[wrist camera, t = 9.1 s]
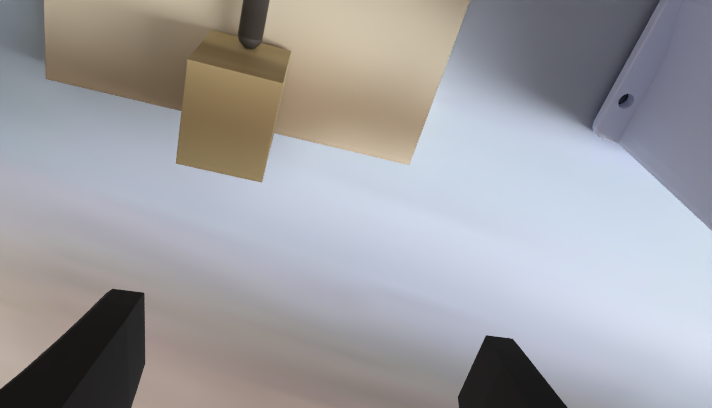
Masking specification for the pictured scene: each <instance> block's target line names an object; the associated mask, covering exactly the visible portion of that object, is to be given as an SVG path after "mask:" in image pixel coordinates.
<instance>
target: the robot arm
mask: <svg viewBox="0 0 712 408" xmlns="http://www.w3.org/2000/svg"><path fill="white" fill-rule="evenodd" d="M625 94H629V96H628V99H627V100H626V101H625V102H624V103H622V104H618V102H619V99H620V98H621V97H622V96H623V95H625ZM593 131H594V132H595V134H596V135H597V136H598V137H599V138H601V139H603V140H606V141H610V142H614V143H618V144H620V145H621V146H622V147H623V148H624V149H625V150H626V151H627V152H628V153H629V154H630V155H631V156H632V157H633V158H635V159H636V160H637V161H638V162H639V163H640V164H641V165H642V166H643V167H644V168H645V169H646V170H647V171H648V172H650V173H651V174H652V175H653V176H654V177H655V178H656V179H657V180H658V181H659V182H660V183H661V184H662V185H663V186H665V187H666V188H667V189H668V190H669V191H670V192H671V193H672V194H673V195H674V196H675V197H676V198H677V199H678V200H679V201H681V202H682V203H683V204H684V205H685V206H686V207H687V208H688V209H689V210H690V211H691V212H692V213H693V214H694V215H696V216H697V217H698V218H699V219H700V220H701V221H702V222H703V223H704V224H705V225H706V226H707V227H708V228H709V229H711V230H712V0H660V1H659V3H658V5H657V7H656V9H655V11H654V12H653V14H652V16H651V18H650V20H649V21H648V23H647V25H646V27H645V29H644V31H643V32H642V34H641V36H640V38H639V40H638V42H637V43H636V45H635V47H634V49H633V51H632V52H631V54H630V56H629V58H628V60H627V62H626V63H625V65H624V67H623V69H622V71H621V73H620V74H619V76H618V78H617V80H616V82H615V83H614V85H613V87H612V89H611V91H610V93H609V94H608V96H607V98H606V100H605V102H604V103H603V105H602V107H601V109H600V111H599V113H598V114H597V116H596V118H595V120H594V123H593ZM144 365H145V311H144V293H141V292H133V291H125V290H117V289H112V290H110V291H109V292H107V293H106V294H105V295H104V296H103V297H102V298H101V299H100V300H99V301H98V302H97V303H96V304H95V305H94V306H93V307H92V308H91V309H90V310H89V311H88V312H87V313H86V314H85V315H84V316H83V317H82V318H81V319H79V320H78V321H77V322H76V323H75V324H74V325H73V326H72V327H71V328H70V329H69V330H68V331H67V332H66V333H65V334H63V335H62V336H61V337H60V338H59V339H58V340H57V341H56V342H55V343H54V344H52V345H51V346H50V347H49V348H48V349H47V350H46V351H45V352H43V353H42V354H41V355H40V356H39V357H38V358H37V359H36V360H34V361H33V362H32V363H31V364H30V365H29V366H28V367H27V368H25V369H24V370H23V371H22V372H21V373H19V374H18V375H17V376H16V377H15V378H13V379H12V380H11V381H10V382H9V383H7V384H6V385H5V386H4V387H2V388H1V389H0V408H131V406H132V403H133V400H134V397H135V394H136V391H137V388H138V385H139V381H140V378H141V375H142V372H143V368H144ZM458 402H459V408H567V406H566V405H565V404H564V403H563V401H562V400H561V399H560V398H559V397H558V395H557V394H556V393H555V392H554V390H553V389H552V388H551V386H550V385H549V384H548V383H547V381H546V380H545V379H544V378H543V376H542V375H541V374H540V372H539V371H538V370H537V369H536V367H535V366H534V365H533V364H532V362H531V361H530V360H529V358H528V357H527V356H526V355H525V353H524V352H523V351H522V350H521V348H520V347H519V346H518V345H517V344H516V342H515V341H514V340H513V339H510V338H502V337H494V336H486V337H485V339H484V341H483V343H482V345H481V348H480V350H479V352H478V354H477V356H476V359H475V361H474V363H473V365H472V367H471V370H470V372H469V374H468V376H467V378H466V381H465V383H464V385H463V387H462V389H461V391H460V394H459V396H458Z"/></svg>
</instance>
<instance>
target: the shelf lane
mask: <svg viewBox="0 0 712 408" xmlns="http://www.w3.org/2000/svg"><path fill="white" fill-rule="evenodd" d="M469 3H470V0H270V1H269V7H268V12H267V18H266V23H265V29H264V34H263V39H262V42H261V43H264V44H267V45H271V46H275V47H279V48H282V49H286V50H290V51H291V55H290V60H289V64H288V69H287V74H286V78H285V83H284V88H283V92H282V97H281V102H280V106H279V111H278V116H277V120H276V125H275V130H274V133H276V134H281V135H285V136H289V137H293V138H298V139H302V140H306V141H310V142H314V143H319V144H323V145H327V146H331V147H335V148H340V149H344V150H348V151H352V152H356V153H361V154H365V155H369V156H373V157H378V158H382V159H386V160H390V161H394V162H399V163H403V164H407V165H409V164H410V162H411V159H412V156H413V154H414V151H415V148H416V145H417V143H418V140H419V137H420V135H421V132H422V129H423V127H424V124H425V121H426V119H427V116H428V113H429V110H430V108H431V105H432V102H433V100H434V97H435V94H436V92H437V89H438V86H439V84H440V81H441V78H442V75H443V73H444V70H445V67H446V65H447V62H448V59H449V57H450V54H451V51H452V48H453V46H454V43H455V40H456V38H457V35H458V32H459V30H460V27H461V24H462V22H463V19H464V16H465V13H466V11H467V8H468V5H469ZM242 4H243V0H44V30H45V66H46V79H49V80H53V81H57V82H62V83H66V84H70V85H74V86H79V87H83V88H87V89H91V90H95V91H100V92H104V93H108V94H112V95H116V96H121V97H125V98H129V99H133V100H137V101H142V102H146V103H150V104H154V105H159V106H163V107H167V108H171V109H175V110H180V111H182V104H183V96H184V87H185V78H186V69H187V60H188V58H189V57H190V56H191V54H192V53H193V52H194V51H195V50H196V48H197V47H198V46H199V45H200V44H201V42H202V41H203V40H204V39H205V37H206V36H207V35H208V34H209V33H210V31H211V30H215V31H218V32H222V33H226V34H230V35H233V36H237V37H238V29H239V23H240V17H241V10H242Z"/></svg>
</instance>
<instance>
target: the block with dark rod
mask: <svg viewBox="0 0 712 408" xmlns="http://www.w3.org/2000/svg"><path fill="white" fill-rule="evenodd" d="M269 1H270V0H243V4H242V10H241V17H240V23H239V29H238V37H237V36H233V35H230V34H226V33H222V32H218V31H215V30H211V31H210V33H209V34H208V35H207V36H206V37H205V39H204V40H203V41H202V42H201V44H200V45H199V46H198V47H197V48H196V50H195V51H194V52H193V53H192V54H191V56H190V57H189V58H188V60H187V69H186V78H185V87H184V96H183V104H182V113H181V122H180V131H179V140H178V149H177V158H176V164H181V165H185V166H190V167H194V168H199V169H203V170H208V171H212V172H217V173H222V174H226V175H231V176H235V177H240V178H244V179H249V180H253V181H258V182H262V180H263V176H264V172H265V168H266V164H267V159H268V155H269V151H270V147H271V143H272V139H273V134H274V130H275V125H276V120H277V116H278V111H279V106H280V102H281V97H282V92H283V88H284V83H285V78H286V74H287V69H288V64H289V60H290V55H291V51H290V50H286V49H282V48H279V47H275V46H271V45H267V44H264V43H261V42H262V39H263V34H264V29H265V23H266V18H267V12H268V7H269Z"/></svg>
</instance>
